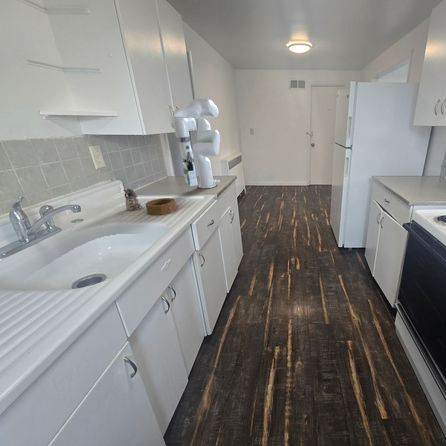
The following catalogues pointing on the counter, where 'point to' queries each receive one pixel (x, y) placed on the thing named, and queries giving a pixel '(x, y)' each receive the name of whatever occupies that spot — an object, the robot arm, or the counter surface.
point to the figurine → (131, 200)
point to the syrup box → (190, 175)
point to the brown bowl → (161, 206)
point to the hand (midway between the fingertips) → (189, 169)
